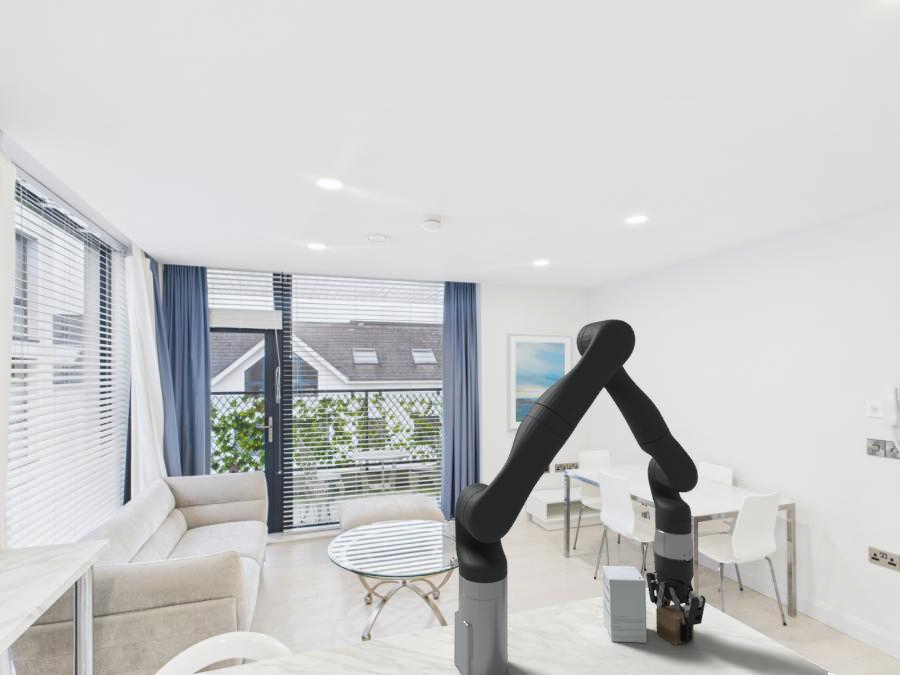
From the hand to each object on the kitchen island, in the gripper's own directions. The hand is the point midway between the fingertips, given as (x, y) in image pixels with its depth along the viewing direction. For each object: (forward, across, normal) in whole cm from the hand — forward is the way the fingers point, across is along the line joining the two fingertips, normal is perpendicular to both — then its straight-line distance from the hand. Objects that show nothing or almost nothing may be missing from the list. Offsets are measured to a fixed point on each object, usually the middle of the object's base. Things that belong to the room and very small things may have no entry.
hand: (675, 634), depth 103 cm
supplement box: (+1, -5, -9) cm, 10 cm away
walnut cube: (0, 0, 0) cm, 0 cm away
